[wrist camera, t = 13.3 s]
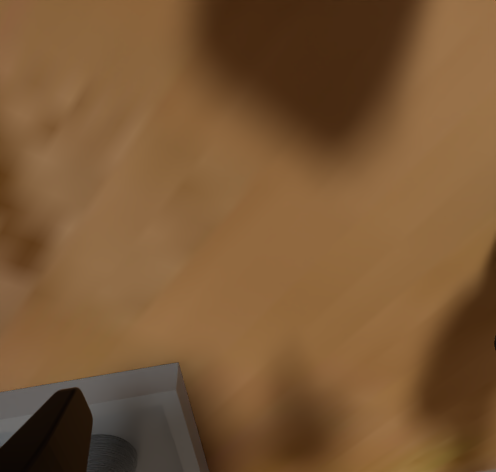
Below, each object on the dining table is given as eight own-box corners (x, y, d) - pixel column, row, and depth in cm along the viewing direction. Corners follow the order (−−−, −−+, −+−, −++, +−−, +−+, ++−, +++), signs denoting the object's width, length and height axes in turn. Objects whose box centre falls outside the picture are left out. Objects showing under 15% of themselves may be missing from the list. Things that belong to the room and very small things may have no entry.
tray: (178, 362, 23) (176, 389, 22) (214, 489, 29) (214, 519, 27) (-41, 399, 23) (-63, 430, 21) (39, 520, 29) (27, 553, 27)
